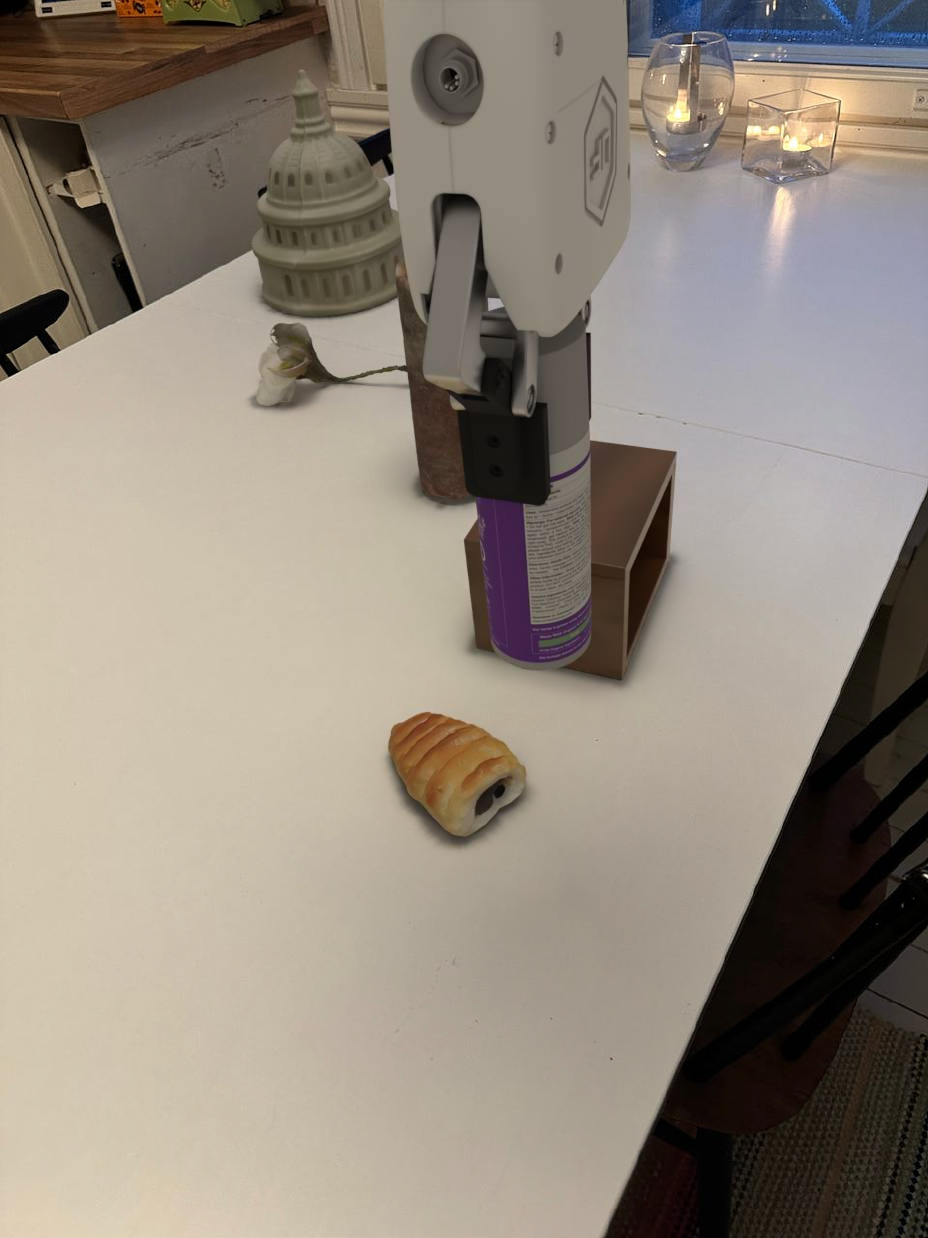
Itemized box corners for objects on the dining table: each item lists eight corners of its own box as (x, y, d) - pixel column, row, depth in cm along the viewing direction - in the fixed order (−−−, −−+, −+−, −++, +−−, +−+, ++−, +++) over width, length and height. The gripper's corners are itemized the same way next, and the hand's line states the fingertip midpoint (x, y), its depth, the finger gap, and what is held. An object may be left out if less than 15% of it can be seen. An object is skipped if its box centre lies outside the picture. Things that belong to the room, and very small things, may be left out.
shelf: (669, 559, 74) (677, 451, 67) (621, 680, 64) (625, 568, 58) (538, 536, 77) (533, 432, 71) (475, 648, 68) (463, 539, 61)
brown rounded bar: (468, 450, 88) (446, 238, 75) (519, 479, 84) (506, 259, 71) (404, 483, 85) (370, 267, 72) (454, 515, 81) (428, 291, 67)
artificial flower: (455, 419, 96) (426, 344, 88) (263, 432, 103) (220, 364, 95) (469, 359, 100) (443, 282, 92) (284, 375, 107) (245, 305, 99)
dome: (322, 42, 116) (423, 58, 104) (356, 243, 133) (446, 277, 120) (180, 79, 107) (271, 101, 95) (235, 290, 124) (318, 332, 112)
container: (474, 623, 44) (437, 322, 34) (560, 590, 45) (550, 290, 35) (518, 685, 41) (492, 372, 31) (610, 648, 42) (614, 335, 32)
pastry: (365, 766, 61) (356, 727, 58) (442, 711, 64) (436, 671, 61) (461, 852, 55) (455, 813, 53) (540, 786, 58) (538, 746, 56)
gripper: (532, -103, 18) (559, 612, 30) (702, -170, 29) (671, 367, 41) (204, -75, 20) (352, 575, 32) (479, -147, 31) (512, 353, 44)
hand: (531, 454), depth 37 cm, fingers closed on container, 4 cm apart
